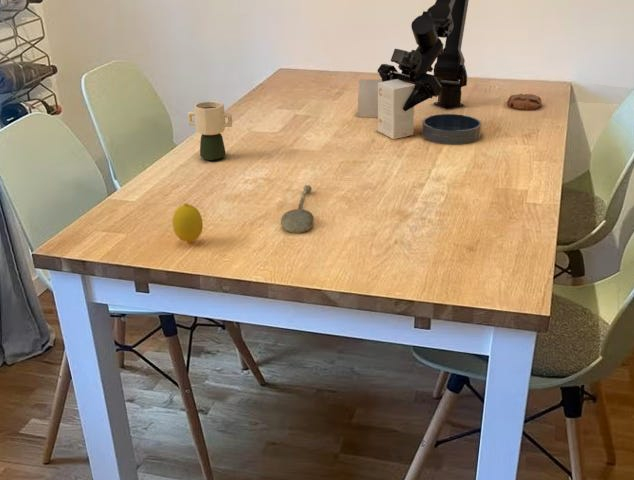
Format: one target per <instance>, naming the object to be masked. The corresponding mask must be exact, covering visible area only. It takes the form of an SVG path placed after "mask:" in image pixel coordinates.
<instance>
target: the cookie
mask: <svg viewBox="0 0 634 480" xmlns="http://www.w3.org/2000/svg"><path fill="white" fill-rule="evenodd" d="M506 104H507V105H508V107H509V108H513V109H516V110H517V109H518V110H521V111H522V110H524V111H526V110H529V111H530V110H531V111H533V110H537V109H539V108H541V107H542V97H540V96H539V95H536V94H532V93H528V94H527V93H525V94H523V93H519V94H511V95H510V96H509V97H508V99H507V101H506Z"/></svg>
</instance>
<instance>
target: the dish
mask: <svg viewBox="0 0 634 480" xmlns="http://www.w3.org/2000/svg"><path fill="white" fill-rule="evenodd" d="M482 126H483V122H482V121H481V120H479V119H478V118H475V117H473V116H469V115H463V114H453V113H444V114H443V113H442V114H435V115H430V116H427V117H424V118H423V120H422V122H421V136H422V138H423V139H425V140H427V141H429V142H432V143H436V144H442V145H467V144H471V143H475V142H477V141H479V140H480V139H481V135H482Z"/></svg>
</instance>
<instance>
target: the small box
mask: <svg viewBox="0 0 634 480" xmlns="http://www.w3.org/2000/svg"><path fill="white" fill-rule="evenodd" d="M413 90H414V84H410V83H407V82H404V81H401V80H399V79H395V80H390V81H384V82H379V83H378V117H377V132H379V133H380V134H382V135H385V136H387V137H389V138H391V139H392V140H397V139H401V138H405V137H409V136H413V135H414V123H415V122H414V121H415V120H414V119H415V117H414V115H415V114H414V113H415V111H414V109H415V106H414V107H412V108H410V109H409V110H407V111H404V110H403V107H404V105H405V103H406V102H407V100H408V98H409V97H410V95H411V93H412V92H413Z"/></svg>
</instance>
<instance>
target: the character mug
mask: <svg viewBox="0 0 634 480" xmlns="http://www.w3.org/2000/svg"><path fill="white" fill-rule="evenodd" d="M193 117H194V121H193ZM226 118H227V122H226ZM187 120H188V122H187V123H188V125H189V126H195V130H196V132H197V133H198V134H199V135H201V136H200V141H199V143H200V144H199V157H200V158H201V159H204V160H207V161H215V160H218V159H221V158H224V157H225V156H226V148H225V142H224V138H223V135H222V133H224V131H225V130H226V128H232V127H233V115H232V113H230V112H225V105H224V103H223V102H220V101H216V100H207V101H201V102H197V103H195V104H194V105H193V111H188V112H187Z"/></svg>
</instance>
